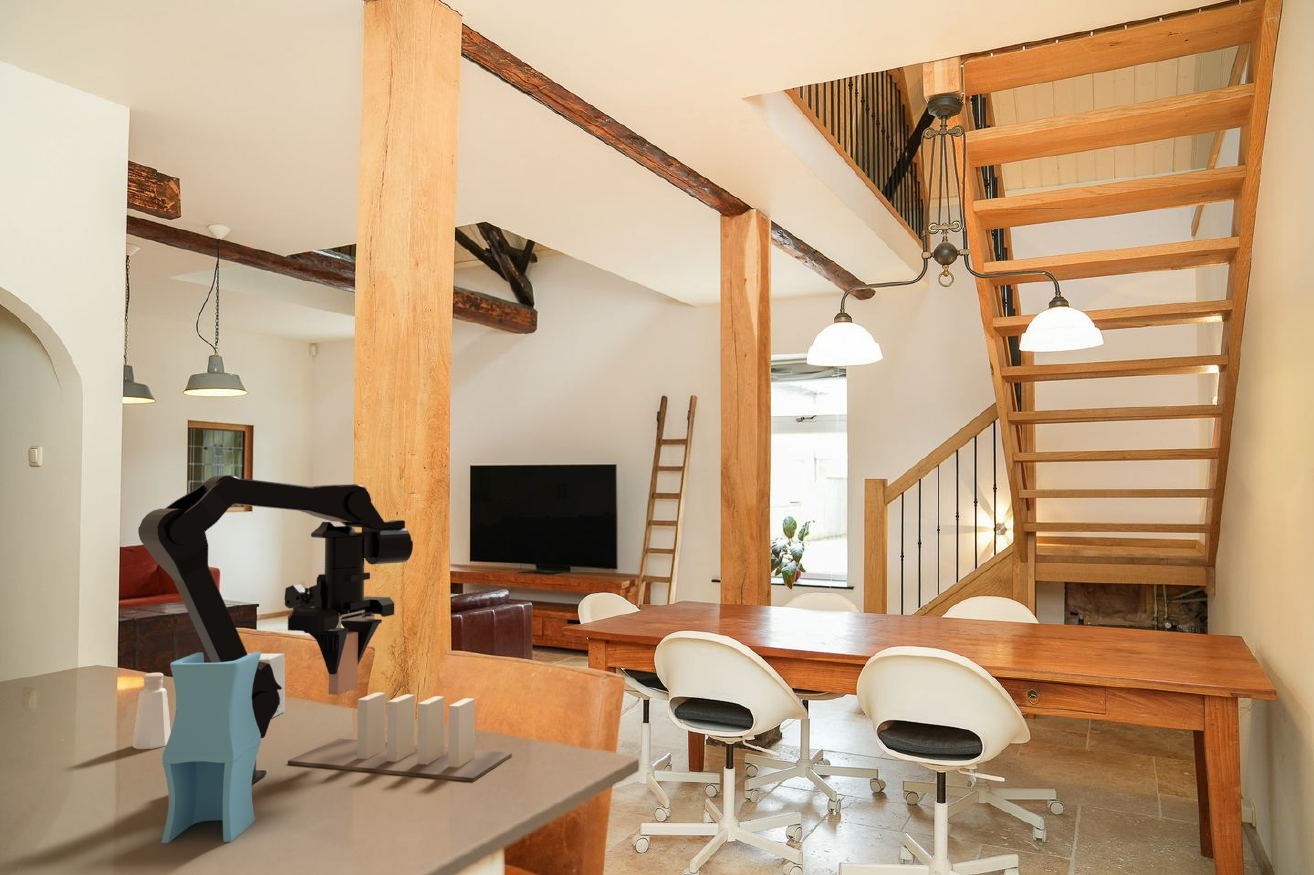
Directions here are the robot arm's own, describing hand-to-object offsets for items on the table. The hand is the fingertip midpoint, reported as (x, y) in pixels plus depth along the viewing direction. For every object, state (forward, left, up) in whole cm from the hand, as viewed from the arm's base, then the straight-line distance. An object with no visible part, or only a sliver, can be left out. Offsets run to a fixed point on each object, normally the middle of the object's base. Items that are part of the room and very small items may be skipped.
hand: (343, 670), depth 137 cm
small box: (+23, +24, -13) cm, 36 cm away
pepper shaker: (+5, +32, -13) cm, 35 cm away
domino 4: (-5, -19, -12) cm, 23 cm away
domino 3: (-4, -15, -12) cm, 19 cm away
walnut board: (-3, -10, -12) cm, 16 cm away
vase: (-30, +4, -13) cm, 32 cm away
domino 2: (-3, -10, -12) cm, 16 cm away
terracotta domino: (0, 0, -3) cm, 3 cm away
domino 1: (-1, -5, -12) cm, 13 cm away
